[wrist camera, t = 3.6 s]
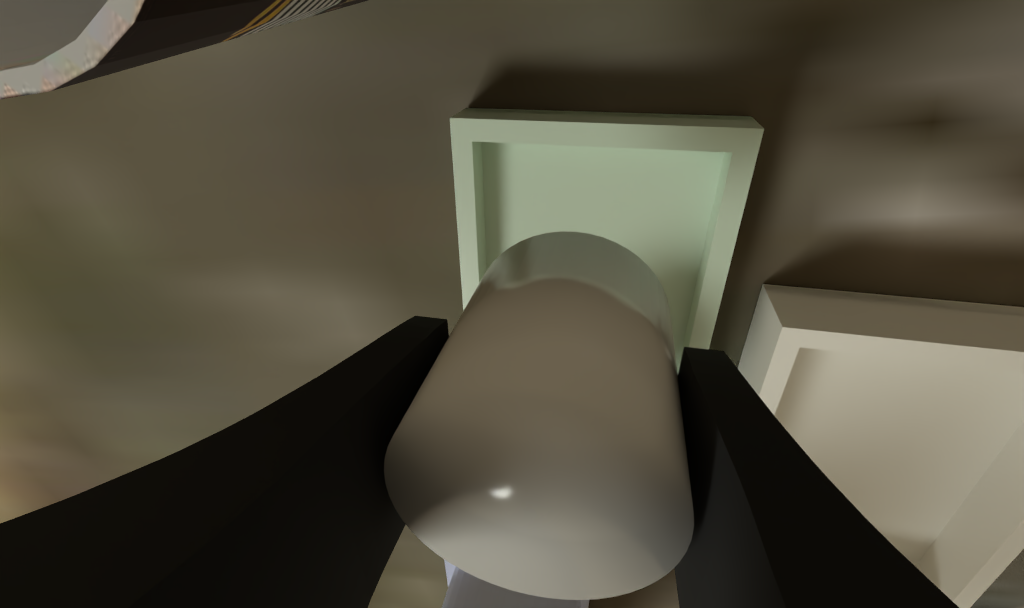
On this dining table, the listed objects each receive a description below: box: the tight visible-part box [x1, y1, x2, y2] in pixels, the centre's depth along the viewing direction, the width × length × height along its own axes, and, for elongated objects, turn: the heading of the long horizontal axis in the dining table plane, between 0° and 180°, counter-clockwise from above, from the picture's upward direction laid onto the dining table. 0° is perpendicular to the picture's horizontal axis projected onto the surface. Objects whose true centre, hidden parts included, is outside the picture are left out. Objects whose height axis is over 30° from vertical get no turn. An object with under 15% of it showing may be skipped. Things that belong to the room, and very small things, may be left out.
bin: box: [738, 284, 1024, 608], centre depth 17 cm, size 12×9×2 cm
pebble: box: [384, 231, 694, 600], centre depth 8 cm, size 4×4×4 cm
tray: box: [450, 108, 764, 373], centre depth 16 cm, size 12×8×2 cm, turn 1°
